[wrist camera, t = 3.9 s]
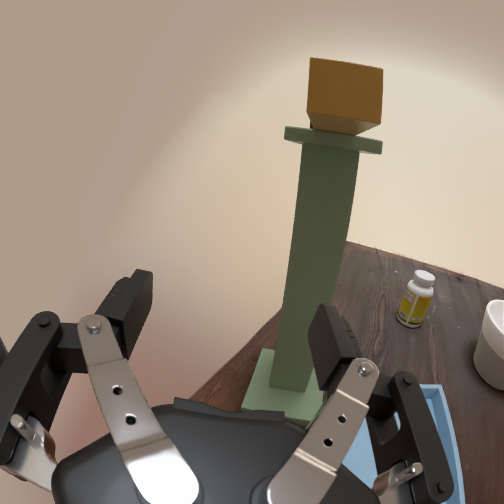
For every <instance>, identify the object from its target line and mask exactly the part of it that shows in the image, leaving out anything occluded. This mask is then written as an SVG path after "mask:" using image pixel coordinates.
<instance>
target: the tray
mask: <svg viewBox="0 0 504 504" xmlns="http://www.w3.org/2000/svg"><path fill="white" fill-rule="evenodd" d="M420 387H421V389H422V392H423V394H424V397H425V399H426V401H427V404H428V406H429V409H430V412H431V414H432V417H433V420H434V422H435V425H436V428H437V430H438V433H439V436H440V439H441V442H442V445H443V448H444V451H445V454H446V457H447V461H448V464H449V467H450V471H451V474H452V478H453V482H454V491H453V494H452V496H451V497H450V498H449V499H448V500H447V501H445V502H443V503H441V504H465V497H464V487H463V478H462V471H461V465H460V459H459V453H458V448H457V443H456V438H455V433H454V429H453V425H452V421H451V417H450V413H449V409H448V405H447V402H446V398H445V395H444V392H443V388H442V385H420ZM394 416H395V419H396V422H397V426H398V429H400V420H399V417H398V414H397V412H396V413H395V414H394ZM342 464H343V465H344V466H346V467H347V468H348V469H349V470H350V471H351V472H352V473H353V474H354V475H356V476H357V477H358V478H359V479H360V480H361V481H362V482H364V483H365V484H366V485H367V486H368V487H369V488H371V489H372V488H373V484H374V480H375V479H376V477H377V470H376V465H375V460H374V455H373V450H372V445H371V440H370V435H369V431H368V426H367V422H366V418H364V421H363V423H362V425H361V427H360V429H359V431H358V433H357V435H356V437H355V439H354V441H353V443H352V445H351V447H350V449H349V450H348V452H347V454H346V456H345V458H344V459H343V461H342Z"/></svg>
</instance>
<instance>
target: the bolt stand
mask: <svg viewBox="0 0 504 504" xmlns="http://www.w3.org/2000/svg"><path fill="white" fill-rule="evenodd" d="M284 139H285V140H288V141H292V142H295V143H298V144H302V154H301V164H300V165H301V166H300V174H299V183H298V192H297V201H296V210H295V218H294V226H293V234H292V242H291V250H290V256H289V264H288V272H287V278H286V285H285V291H284V298H283V304H282V311H281V317H280V323H279V329H278V335H277V341H276V347H275V350H270V349H265V348H262V351H261V354H260V357H259V359H258V362H257V365H256V368H255V371H254V373H253V376H252V379H251V382H250V384H249V387H248V390H247V392H246V395H245V398H244V400H243V403H242V406H241V412H242V411H251V410H270V411H284V412H285V419H288V420H290V421H293V422H295V423H297V424H299V425H302V426H307V425H308V424H309V423H310V421H311V420H312V419H313V417H314V416H315V414H316V413H317V411H318V410H319V408H320V407H321V405H322V401H323V391H319V387H318V382H317V377H316V373H315V368H314V364H313V359H312V355H311V350H310V346H309V342H308V329H309V326H310V324H311V322H312V320H313V317H314V315H315V313H316V311H317V308H318V306H319V305H320V304H321V303H323V304H330V305H332V301H333V297H334V293H335V289H336V285H337V280H338V276H339V272H340V267H341V262H342V258H343V253H344V248H345V243H346V238H347V232H348V227H349V222H350V216H351V210H352V204H353V198H354V191H355V185H356V177H357V169H358V162H359V153H369V154H381V153H382V144H383V142H382V141H379V140H375V139H370V138H365V137H360V136H355V135H349V134H343V133H337V132H330V131H323V130H316V129H308V128H299V127H290V126H286V127H285V134H284Z"/></svg>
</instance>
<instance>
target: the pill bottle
mask: <svg viewBox="0 0 504 504" xmlns="http://www.w3.org/2000/svg"><path fill="white" fill-rule="evenodd" d="M413 279H414V280H411V281H410V282H409V283H408V285H407V288H406V291H405V294H404V297H403V300H402V303H401V305H400V308H399V311H398V314H397V318H398V320H399V322H401V323H402V324H403V325H405V326H407V327H411V328H415V327H418V326H420V325H421V323H422V321H423V319H424V316H425V314H426V311H427V309H428V306H429V304H430V301H431V298H432V296H433V288H432V285H433V284H434V280H435V277H434V276H433V275H432V274H430V273H429V272H426V271H422V270H417V271H415V274H414V277H413Z"/></svg>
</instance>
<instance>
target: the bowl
mask: <svg viewBox="0 0 504 504" xmlns="http://www.w3.org/2000/svg"><path fill="white" fill-rule="evenodd" d="M473 361H474V365H475V368H476V370H477V372H478V373H479V375H480V376H481V377H482V378H483V379H484V380H485V381H486V382H487V383H488V384H489V385H491V386H492V387H494V388H496V389H499V390H503V391H504V300H493V301H491V302H489V303H488V305H487V307H486V312H485V316H484V320H483V324H482V329H481V332H480V336H479V339H478V343H477V346H476V349H475V352H474V356H473Z"/></svg>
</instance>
